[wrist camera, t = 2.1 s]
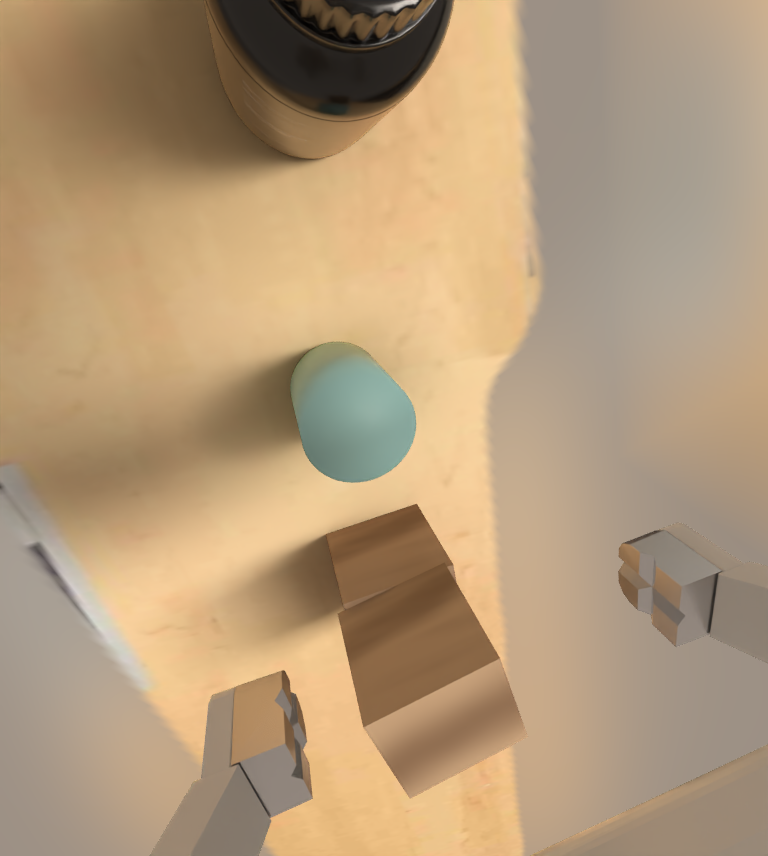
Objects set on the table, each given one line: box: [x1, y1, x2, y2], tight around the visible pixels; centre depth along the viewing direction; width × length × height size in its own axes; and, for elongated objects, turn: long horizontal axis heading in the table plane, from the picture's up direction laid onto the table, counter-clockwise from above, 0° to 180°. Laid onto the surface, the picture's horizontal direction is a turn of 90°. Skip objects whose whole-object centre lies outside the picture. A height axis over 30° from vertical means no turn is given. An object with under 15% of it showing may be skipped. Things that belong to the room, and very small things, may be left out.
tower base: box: [326, 504, 456, 610], centre depth 28 cm, size 6×6×6 cm
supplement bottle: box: [204, 0, 454, 159], centre depth 14 cm, size 7×7×12 cm
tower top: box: [338, 562, 528, 798], centre depth 22 cm, size 6×6×6 cm
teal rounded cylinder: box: [290, 342, 416, 482], centre depth 22 cm, size 5×5×6 cm
